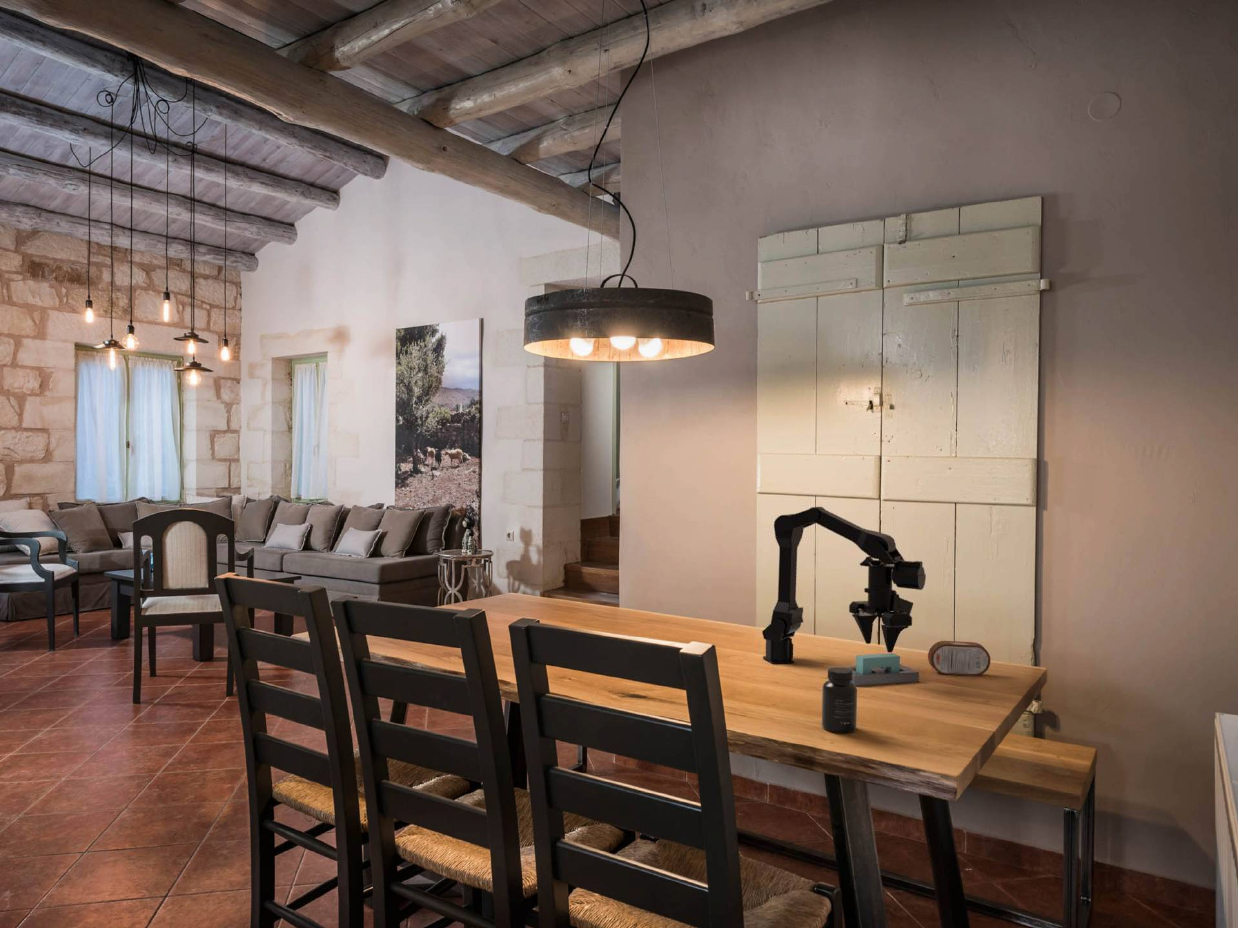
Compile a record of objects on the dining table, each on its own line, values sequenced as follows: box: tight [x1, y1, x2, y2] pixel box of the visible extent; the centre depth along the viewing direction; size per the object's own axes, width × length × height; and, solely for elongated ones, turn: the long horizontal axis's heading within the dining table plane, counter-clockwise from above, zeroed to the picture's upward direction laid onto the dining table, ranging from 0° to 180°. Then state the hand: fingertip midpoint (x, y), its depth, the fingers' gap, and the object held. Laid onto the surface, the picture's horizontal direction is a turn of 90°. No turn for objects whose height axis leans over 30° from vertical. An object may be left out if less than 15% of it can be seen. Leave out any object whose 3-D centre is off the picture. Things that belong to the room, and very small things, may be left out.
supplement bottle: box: [821, 666, 858, 735], centre depth 162 cm, size 7×7×12 cm
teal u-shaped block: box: [855, 652, 901, 674], centre depth 199 cm, size 10×3×6 cm, turn 106°
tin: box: [927, 640, 991, 677], centre depth 205 cm, size 15×3×8 cm, turn 84°
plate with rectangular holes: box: [841, 663, 920, 687], centre depth 199 cm, size 18×8×2 cm, turn 106°
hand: (878, 647), depth 199 cm, fingers open, 9 cm apart
